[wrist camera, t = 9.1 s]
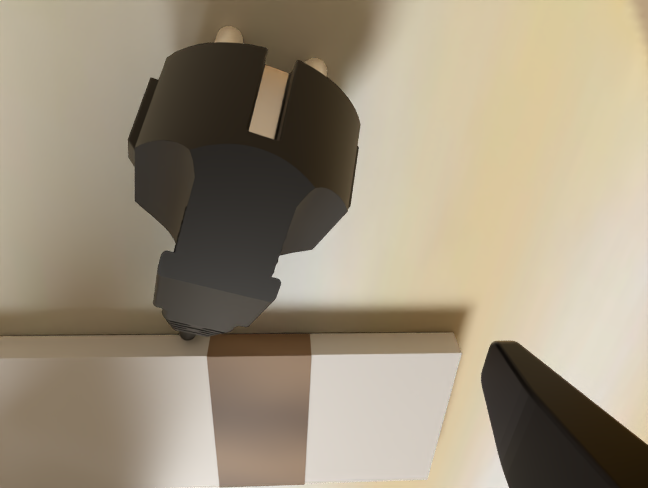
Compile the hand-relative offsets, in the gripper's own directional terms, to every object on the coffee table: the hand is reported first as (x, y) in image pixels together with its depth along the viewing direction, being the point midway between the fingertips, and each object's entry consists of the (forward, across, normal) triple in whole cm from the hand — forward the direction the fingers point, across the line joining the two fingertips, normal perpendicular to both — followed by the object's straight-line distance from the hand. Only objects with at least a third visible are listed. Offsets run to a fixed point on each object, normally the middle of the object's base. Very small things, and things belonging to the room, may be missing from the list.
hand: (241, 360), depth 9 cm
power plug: (+9, +1, +2) cm, 10 cm away
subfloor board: (+9, +6, +12) cm, 16 cm away
